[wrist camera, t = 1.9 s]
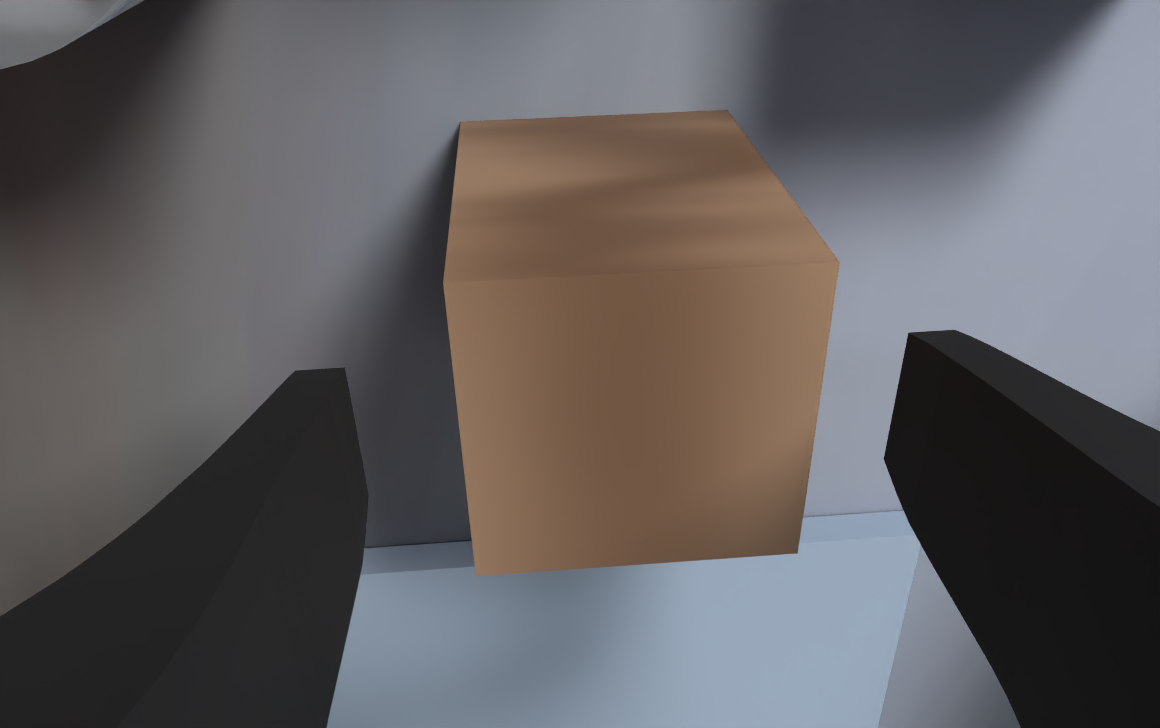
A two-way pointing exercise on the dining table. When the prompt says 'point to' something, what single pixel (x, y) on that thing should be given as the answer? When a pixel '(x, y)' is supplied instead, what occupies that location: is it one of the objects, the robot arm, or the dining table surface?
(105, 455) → the dining table surface
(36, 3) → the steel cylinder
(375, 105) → the dining table surface
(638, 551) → the walnut block
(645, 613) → the slate mat
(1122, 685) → the robot arm
